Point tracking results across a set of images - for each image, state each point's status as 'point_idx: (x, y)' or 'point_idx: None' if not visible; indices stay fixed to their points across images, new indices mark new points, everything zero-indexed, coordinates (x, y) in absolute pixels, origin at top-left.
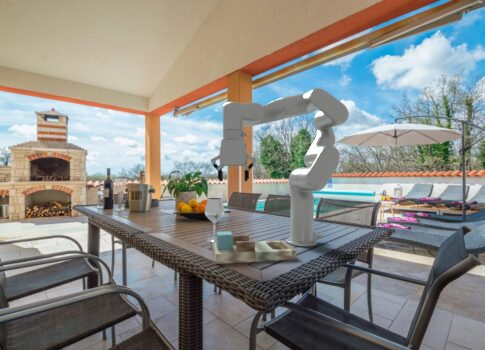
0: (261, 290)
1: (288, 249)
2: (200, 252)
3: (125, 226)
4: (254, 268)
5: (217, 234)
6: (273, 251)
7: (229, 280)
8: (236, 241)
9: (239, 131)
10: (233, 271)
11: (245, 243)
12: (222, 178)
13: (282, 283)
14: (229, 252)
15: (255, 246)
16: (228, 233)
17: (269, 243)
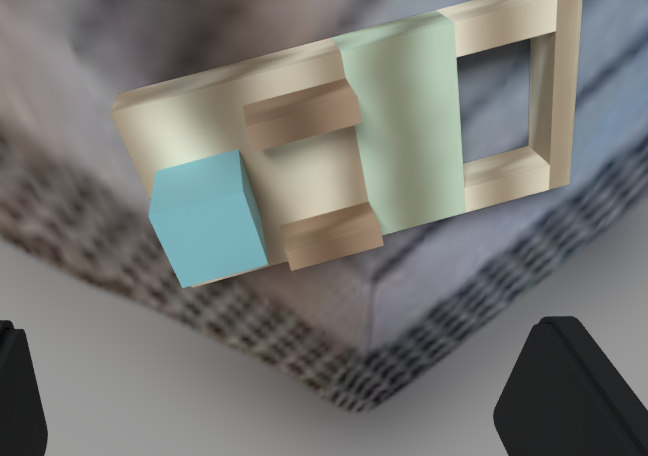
0: (357, 393)
1: (539, 176)
2: (50, 119)
3: None
4: (352, 276)
5: (170, 261)
6: (458, 214)
7: (268, 364)
8: (286, 253)
9: None
10: (274, 310)
11: (332, 255)
12: (8, 386)
13: (421, 354)
14: None
15: (384, 149)
16: (236, 241)
17: (481, 48)
